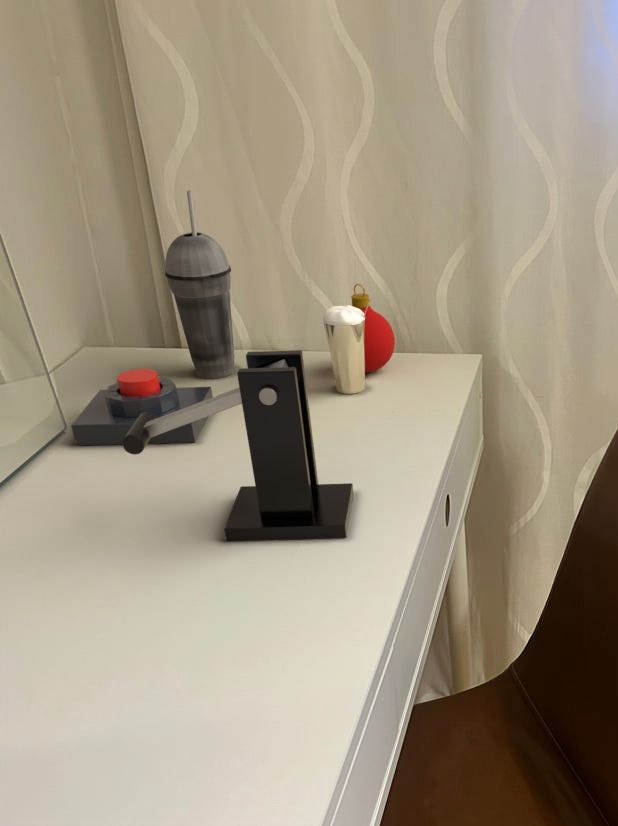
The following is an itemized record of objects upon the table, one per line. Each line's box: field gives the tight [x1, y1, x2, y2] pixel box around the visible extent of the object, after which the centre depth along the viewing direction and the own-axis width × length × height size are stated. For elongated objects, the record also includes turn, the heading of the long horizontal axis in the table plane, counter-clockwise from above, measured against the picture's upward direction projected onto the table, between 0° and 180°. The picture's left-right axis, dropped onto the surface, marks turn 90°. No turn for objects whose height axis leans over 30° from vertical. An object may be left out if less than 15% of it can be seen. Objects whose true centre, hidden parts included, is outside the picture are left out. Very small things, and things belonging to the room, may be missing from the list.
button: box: [116, 368, 161, 397], centre depth 99 cm, size 4×4×2 cm
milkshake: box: [322, 298, 371, 395], centre depth 107 cm, size 4×5×10 cm
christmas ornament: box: [350, 283, 396, 374], centre depth 112 cm, size 7×7×10 cm
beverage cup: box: [164, 190, 236, 380], centre depth 109 cm, size 7×7×20 cm
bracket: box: [223, 349, 355, 542], centre depth 80 cm, size 10×8×14 cm
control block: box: [70, 376, 214, 447], centre depth 101 cm, size 12×10×4 cm
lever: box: [121, 359, 288, 455], centre depth 78 cm, size 14×5×2 cm, turn 92°
